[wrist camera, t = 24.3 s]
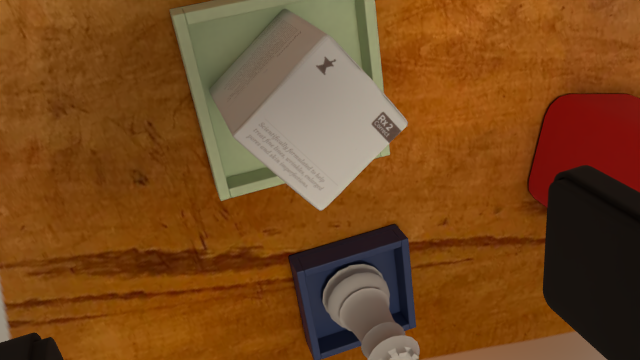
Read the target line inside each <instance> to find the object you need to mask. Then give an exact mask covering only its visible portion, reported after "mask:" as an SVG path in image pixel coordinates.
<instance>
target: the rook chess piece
mask: <svg viewBox="0 0 640 360" xmlns="http://www.w3.org/2000/svg"><path fill="white" fill-rule="evenodd" d="M389 298H390V293H389V289H388V286H387V283H386V281H385V280H384V279H383V276H382V274H381V273H380V272H379V271H378V270H377V269H376V268H375V267H372V266H369V265H365V264H358V265H350V266H347V267H345V268H343V269H341V270H339V271H337V272H336V273H335V274H334V275H333V276H332V277H331V278H330V280H329V281H328V283H327V285H326V287H325V289H324V291H323V304H324V307H325V309H326V311H327V312H328V313H329V314H330V317H331V319H332V320H333V321H335V322H336V323H337V324H338V325H340V326H341V327H343V328H346V329H347V330H349V331H352V332H353V333H354V334H355V336H356V337H357V338H358V339H359V341H360V342H361V344H362V346H361V349H362V352H363V354H364V355H365V356H366V357H367V358H368V360H419V359H418V358H419V351H420V349H419V346H418V343H417V342H416V341H415V340H414V339H413V338H412V337H409V336H405V332H404V329H403V328H402V327H401V326H400V325H399V324H398V323H395V321H394V320H393V318H392V315H391V313H390V311H389V304H390V302H389Z"/></svg>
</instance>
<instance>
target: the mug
mask: <svg viewBox="0 0 640 360" xmlns="http://www.w3.org/2000/svg"><path fill="white" fill-rule="evenodd" d="M582 165H588V166H591V167H593V168H595V169H597V170H599V171H601V172H603V173H605V174H606V175H608V176H610V177H612V178H614V179H616V180H618V181H619V182H621V183H623V184H625V185H627V186H629V187H631V188H633V189H634V190H636V191H638V192H640V98H637V97H634V96H632V95H629V94H568V95H565V96H561V97H559V98H558V99H557V100H556V101H555V102H553V103H552V104H551V105H550V107H549V109H548V111H547V113H546V115H545V118H544V122H543V126H542V130H541V134H540V138H539V142H538V146H537V150H536V154H535V158H534V162H533V166H532V170H531V174H530V178H529V192H530V193H531V194H532V196H533V197H534V199H536V200H537V201H539V202H540V203H542V204H543V205H544V206H546V207H547V205H548V189H549V186H550V184H551V183H553V181H554V178H555V176H556V175H557V174H558V173H560V172H562V171H566V170H569V169H572V168H576V167H579V166H582Z"/></svg>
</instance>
